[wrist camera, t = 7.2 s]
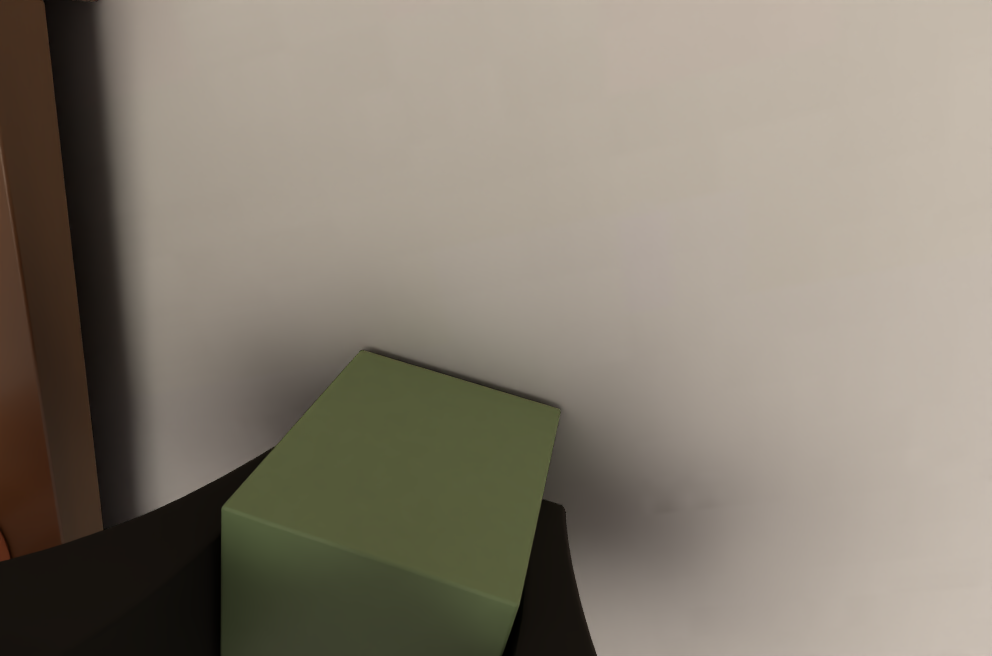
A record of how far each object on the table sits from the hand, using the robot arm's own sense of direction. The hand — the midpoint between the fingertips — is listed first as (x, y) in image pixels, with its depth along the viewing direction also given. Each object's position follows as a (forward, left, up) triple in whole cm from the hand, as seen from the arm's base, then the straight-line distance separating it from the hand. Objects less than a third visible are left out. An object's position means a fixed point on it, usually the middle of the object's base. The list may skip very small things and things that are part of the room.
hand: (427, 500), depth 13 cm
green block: (0, 0, -1) cm, 1 cm away
